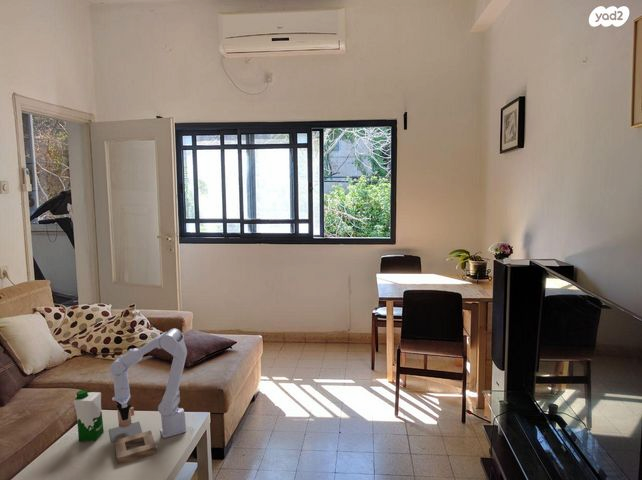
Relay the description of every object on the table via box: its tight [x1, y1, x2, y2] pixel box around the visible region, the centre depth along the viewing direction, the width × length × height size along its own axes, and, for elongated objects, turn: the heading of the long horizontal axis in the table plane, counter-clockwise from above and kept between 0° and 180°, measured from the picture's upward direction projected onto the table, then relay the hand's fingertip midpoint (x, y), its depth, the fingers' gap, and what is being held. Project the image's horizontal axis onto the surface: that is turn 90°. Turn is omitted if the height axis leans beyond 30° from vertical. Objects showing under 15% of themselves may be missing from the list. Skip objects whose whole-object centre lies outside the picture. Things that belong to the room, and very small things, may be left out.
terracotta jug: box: [116, 406, 135, 427], centre depth 192 cm, size 6×5×8 cm
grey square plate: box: [109, 421, 143, 444], centre depth 193 cm, size 12×12×1 cm
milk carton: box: [73, 389, 104, 442], centre depth 189 cm, size 9×9×20 cm
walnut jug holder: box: [114, 430, 158, 465], centre depth 180 cm, size 14×14×2 cm
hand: (124, 416), depth 192 cm, fingers closed on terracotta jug, 5 cm apart
